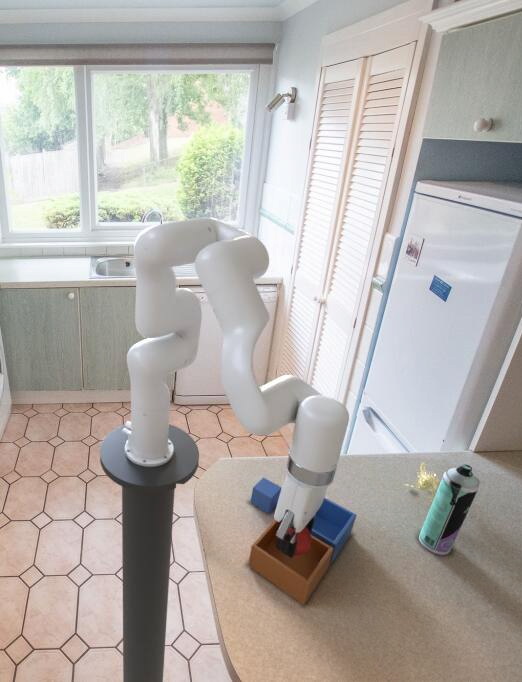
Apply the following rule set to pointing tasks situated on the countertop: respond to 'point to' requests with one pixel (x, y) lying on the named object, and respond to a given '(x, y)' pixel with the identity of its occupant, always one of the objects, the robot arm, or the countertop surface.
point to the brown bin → (290, 564)
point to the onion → (302, 541)
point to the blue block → (265, 495)
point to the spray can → (449, 509)
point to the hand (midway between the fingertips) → (293, 540)
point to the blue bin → (333, 525)
